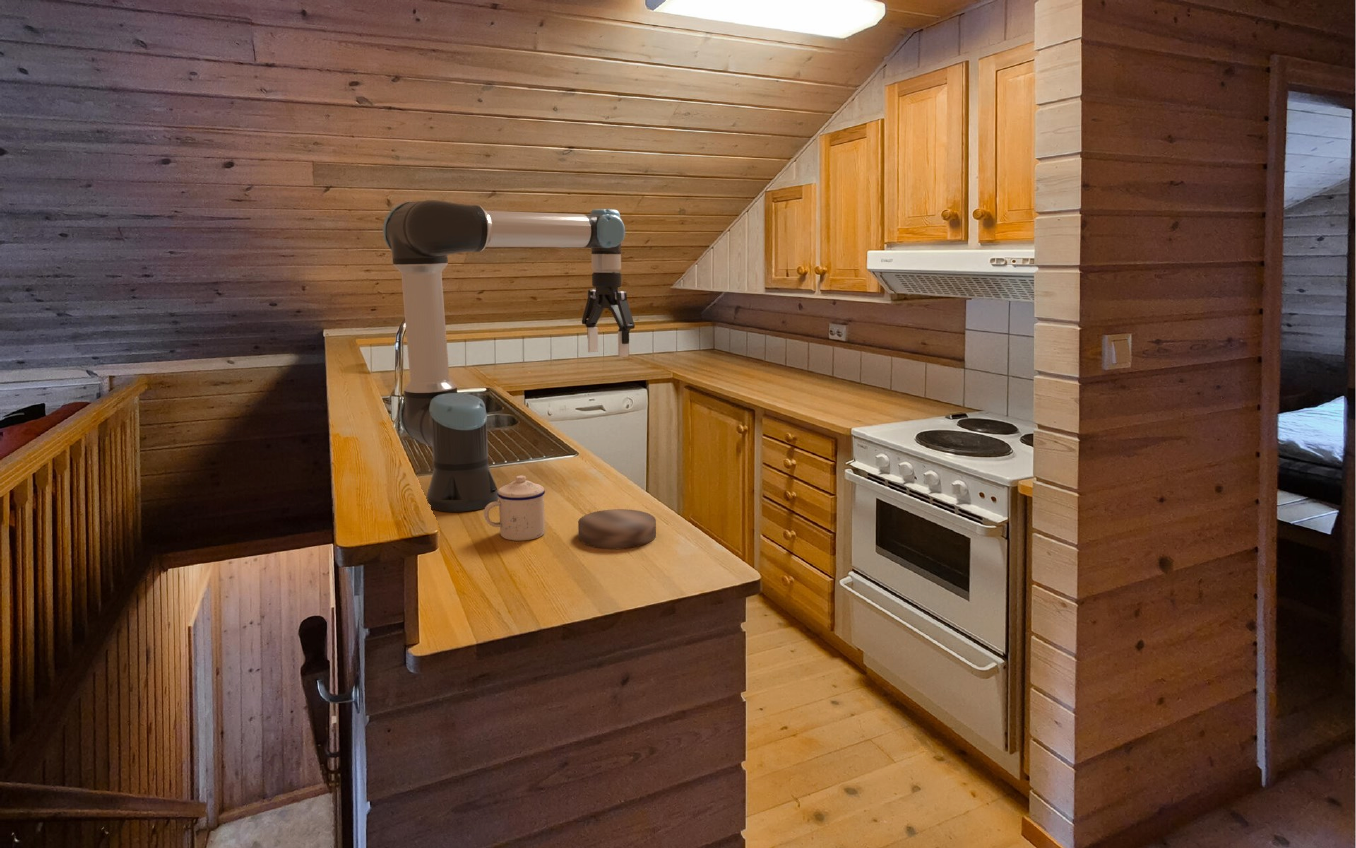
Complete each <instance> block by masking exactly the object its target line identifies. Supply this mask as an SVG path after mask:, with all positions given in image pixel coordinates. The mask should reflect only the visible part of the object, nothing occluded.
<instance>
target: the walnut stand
mask: <svg viewBox="0 0 1356 848" xmlns="http://www.w3.org/2000/svg"><path fill="white" fill-rule="evenodd" d="M577 523H578V527H577V528H578V539H579V541H580V542H581V543H582V544H585V545H587V546H589V547H592V548H593V547H594V548H598V549H606V550H607V549H608V550H609V549H610V550H621V549H623V550H624V549H631V548H637V547H640V546H641V547H642V546H644V545H646V544H649V543H651V542H652V541H654V540H655V539H656V537H657V536H656V535H657V519H656V517H655V516H654V515H652V514H650V513H648V512H645V511H641V510H635V509H626V508H625V509H623V508H622V509H618V508H617V509H616V508H615V509H604V510H599V511H593V512H590V513H587V514H585V515H583V516H581V517H580V518H579V519H578V522H577Z"/></svg>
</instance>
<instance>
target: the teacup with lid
mask: <svg viewBox="0 0 1356 848" xmlns="http://www.w3.org/2000/svg"><path fill="white" fill-rule="evenodd" d="M545 493H546V490H545V488H544V486H543V485H541V484H539V483H534V482H532V481H530V480H527V477H526V476H525V475H517V476H515V480H514V481H511V482H510V483H508V484H506V485H503V486H501V487H500V488H499V489H498V493H497V495H498V501H495V502H491V503H489V504H488V505H487V506H486V507H485V508H483V516H484V520H485V521H486V522H487V524H489V526H492V527H495V528H499V530H500V531H499V533H500V536H501V537H502V538H503V539H505V540H509V541H514V542H515V541H518V542H522V541H530V540H535V539H538V538H541V537H543V535H544V534H545V532H546V524H545V523H546V519H545V515H546V513H545ZM497 506H498V509H499V511H498V512H499V522H493V521H492V520H491V519H490V517H489V512H490V510H491V509H492V508H494V507H497Z"/></svg>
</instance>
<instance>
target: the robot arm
mask: <svg viewBox="0 0 1356 848" xmlns="http://www.w3.org/2000/svg"><path fill="white" fill-rule="evenodd" d="M382 224H383V225H382V236H383V239H384V242H385V243H386V245H387V247H388V248H389V249H390V250H391V254H392V255H391V256H392V264H393V265H392V266H393V267H394V268H395V269H396V270H397V271H399V273H400V274H401V285H402V286H401V287H402V298H403V311H404V321H405V322H404V323H405V333H406V345H407V358H408V368H409V382H408V383H407V384H406V386H404V388H403V394H404V400H403V402H402V403H401V405H400V408H399V412H398V413H399V414H398V418H399V421H400V422H399V424H400V426H401V428H402V430H403V431H404V433H406V435H407V436H409V437H410V438H411V439H412V440H414V441H415V442H416V443H419V444H422V445H426V446H428V447H430V448H432V460H433V472H432V476H431V480H430V483H429V486H428V491H427V493H426V496H427V497H426V498H427V499H428V501H427V504H428V503H429V504H430V505H431V508H430V509H432V510H435V511H440V512H447V513H448V512H449V513H451V512H452V513H453V512H454V513H457V512H458V513H459V512H469V511H470V512H471V511H478V510H482V509H485V507H486V506H487V505H488V504H489V503H491V502H495V501H499V497H498V495H497V493H498V490H499V489H498V486H497V485H496V482H495V479H494V477H493V474H492V472H491V469H490V467H489V448H488V447H489V445H488V443H489V441H488V423H487V422H488V421H487V420H488V413H487V410H486V404H485V402H484V401H483V399H482V398H480V397H478V396H476V395H473V394H469V393H468V394H465V393H463V392H462V393H460V392H458V384H456V383H455V382H454V381H453V380H452V379H451V378H450V370H449V368H450V367H449V357H448V356H449V355H448V342H447V330H446V329H447V328H446V317H445V316H446V314H445V302H444V301H445V300H444V290H443V289H444V288H443V286H444V285H443V275H442V273H443V271H444V270H445V269H446V267H447V266H448V264H449V263H448V262H449V261H448V260H449V259H448V255H449V256H450V255H454V254H461V253H471V252H472V253H473V252H475V253H478V252H479V253H481V252H483V251H484V250H485V249H486V248H559V249H560V248H562V249H569V248H570V249H578V248H579V249H581V248H582V249H585V248H587V249H590V250H591V251H590V252H591V271H593V272H592V273H591V286H592V287H593V288H595V289H589V290H588V291H587V300H586V304H585V307H584V311H583V315H582V319H581V324H582V325H585V327H586V331H587V333H586V334H587V337H586V338H587V349H588V350H587V352H588V353H598V352H599V340H598V339H599V328H598V324H597V323H598V322H599V320H600V318H601V316H602V314H603V312H604V309H606V310H607V309H608V311H610V312H611V314H612V316H613V319H614V321H615V323H616V325H617V326H618V328H619V329H618V330H617V353H618V354H617V356H618V358H623V357H624V358H625V357H626V358H627V357H629V353H630V352H629V343H630V331H631V330H633V329H635V328H636V325H635V323H634V320H633V319H634V317H633V316H632V312H631V309H630V305H629V302H628V297H627V295H628V294H627V291H619V288H621V287H622V273H621V272H619V271H621V270H622V255H621V253H622V242H623V241H624V239H625V236H626V227H625V224H624V222H623V219H622V218H621V214H620V212H619V210H617V209H614V208H613V209H611V208H608V209H607V208H605V209H604V208H603V209H601V208H598V209H596V208H595V209H592V210H591V211H590V214H587V213H586V214H583V213H561V212H560V213H559V212H557V213H556V212H536V211H535V212H534V211H533V212H532V211H529V212H528V211H506V210H505V211H503V210H485V209H484V208H483V207H482V206H481V205H477V204H474V205H472V204H463V203H456V202H450V201H449V202H448V201H443V200H436V199H426V200H421V201H420V200H419V201H418V200H417V201H413V200H412V201H405V202H404V203H401V204H399V205H397V206H395V207H393V208H392V209H391V210H390V211H389V212H388V213H387V215H386V216H385V218H384V221H383V223H382Z"/></svg>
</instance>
